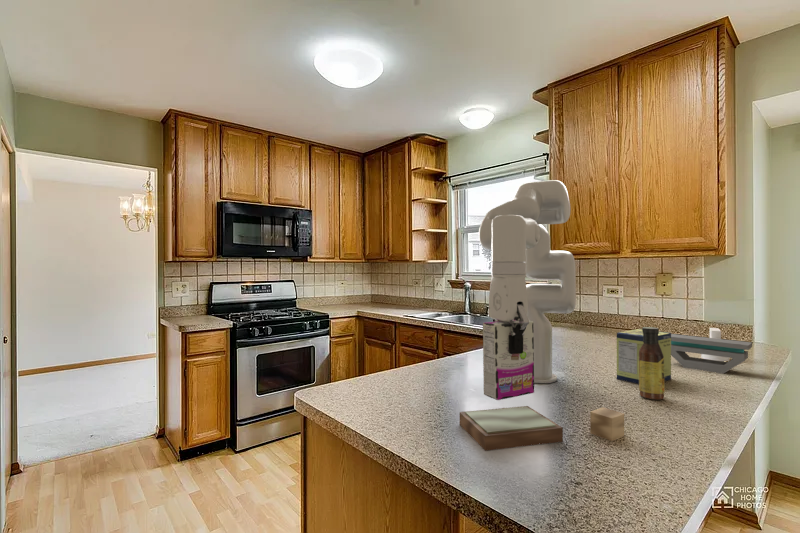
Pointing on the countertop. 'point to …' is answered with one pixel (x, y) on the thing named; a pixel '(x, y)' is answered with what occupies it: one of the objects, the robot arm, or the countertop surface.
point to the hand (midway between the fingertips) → (508, 349)
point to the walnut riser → (510, 427)
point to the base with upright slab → (716, 334)
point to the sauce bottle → (651, 366)
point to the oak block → (607, 423)
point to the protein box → (630, 354)
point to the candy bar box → (507, 362)
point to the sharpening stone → (708, 352)
